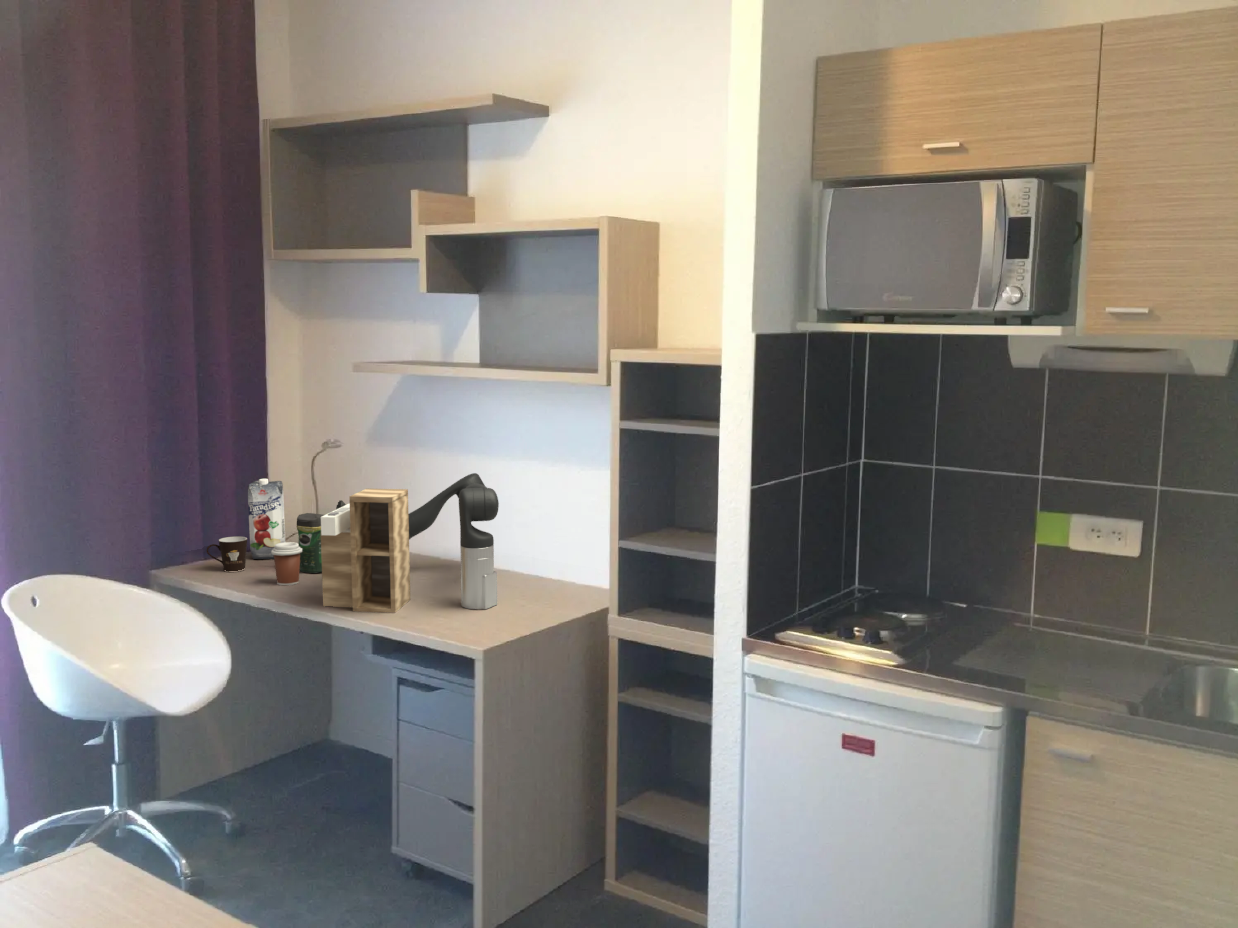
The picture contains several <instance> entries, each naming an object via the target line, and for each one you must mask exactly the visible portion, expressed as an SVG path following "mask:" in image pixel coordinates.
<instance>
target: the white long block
mask: <svg viewBox="0 0 1238 928" xmlns="http://www.w3.org/2000/svg"><path fill="white" fill-rule="evenodd" d="M323 515H324V516H322V517H321V535H334V536H336V535H338V534H339V533H341V532H343V531H345V530H347V529H349V528H350V502H349V503H347V504H346V505H345V506H343V507H341V508H339V509H337V510H336V509H334V510H333V511H331V512H328V513H326V514H323Z"/></svg>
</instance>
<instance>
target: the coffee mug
mask: <svg viewBox="0 0 1238 928" xmlns="http://www.w3.org/2000/svg"><path fill="white" fill-rule="evenodd" d="M218 543H219V545H218V544H215V543H212V544H209V545H208V546H207V547H206V553H207V554H208V555H207V556H209V557H211V558H212V559H213V560H216V561H218V562H219V563H221V564H222V567H223V571H224V570H226V571H238V570H242V569H244V568H245V569H246V561H247V549H248V548H247V546H248V538H247V537H245V536H228V537H222V538H219V539H218ZM211 547H216V548H217V549H218V550H219V552H220V556H221V559H220V558H217V557H215V556H213V555H212V554H211V553H210V552H209V549H210V548H211Z"/></svg>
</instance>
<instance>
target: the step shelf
mask: <svg viewBox="0 0 1238 928" xmlns="http://www.w3.org/2000/svg"><path fill="white" fill-rule="evenodd" d="M349 503H350V528H349V529H347V530H345V531H343V532H341V533H339V534H338V535H336V536H334V535H321V556H322V572H321V578H322V579H321V580H322V583H321V584H322V604H323V605H322V607H325V606H333V607H334V608H352V612H358V613H359V612H361V613H365V612H367V613H397V612H398V611H399V610H400V609H402V608H403V607H404V606H405V605H406V604H408V602H409V601H411V572H410V571H411V567H410V563H411V562H410V540H409V516H408V514H409V489H408V488H405V489H403V488H364V489H363V490H360V491H358V492H356V493H353V494H351V495H349ZM333 607H332V608H333Z"/></svg>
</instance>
